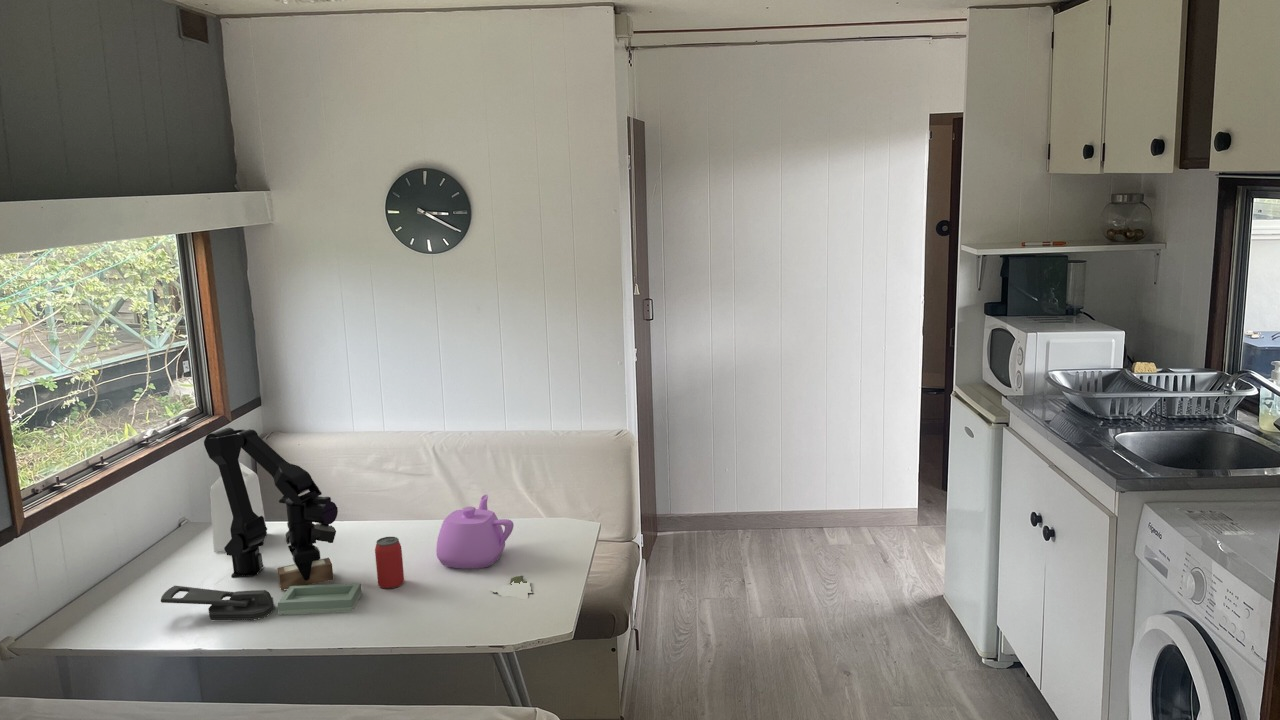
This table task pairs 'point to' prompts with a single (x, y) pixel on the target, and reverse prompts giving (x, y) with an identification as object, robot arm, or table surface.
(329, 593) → the cradle
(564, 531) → the table surface
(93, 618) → the table surface
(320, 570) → the brown two-tone block
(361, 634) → the table surface
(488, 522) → the teapot
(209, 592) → the zipper pull
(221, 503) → the milk
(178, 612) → the table surface
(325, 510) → the robot arm
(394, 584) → the beer can
